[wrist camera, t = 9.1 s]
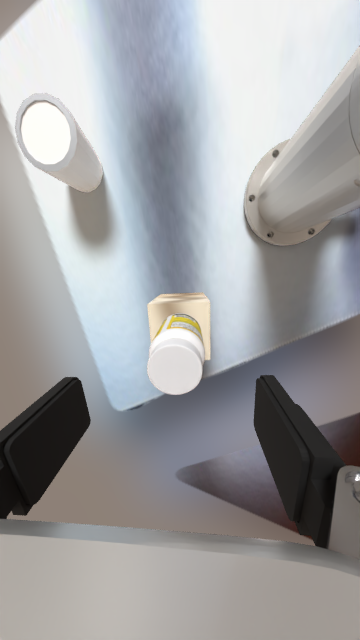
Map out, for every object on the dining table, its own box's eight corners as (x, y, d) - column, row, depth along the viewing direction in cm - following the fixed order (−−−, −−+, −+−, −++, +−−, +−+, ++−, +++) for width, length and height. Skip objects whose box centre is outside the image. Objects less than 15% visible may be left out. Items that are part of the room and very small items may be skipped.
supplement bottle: (172, 357, 21) (160, 408, 13) (153, 323, 20) (127, 357, 12) (208, 340, 21) (219, 385, 12) (190, 305, 20) (189, 328, 11)
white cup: (86, 129, 24) (45, 73, 17) (116, 177, 25) (89, 142, 19) (51, 163, 26) (0, 123, 19) (81, 207, 27) (44, 185, 20)
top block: (206, 296, 24) (210, 301, 19) (206, 343, 26) (210, 359, 21) (156, 298, 25) (147, 304, 20) (159, 344, 26) (152, 360, 22)
